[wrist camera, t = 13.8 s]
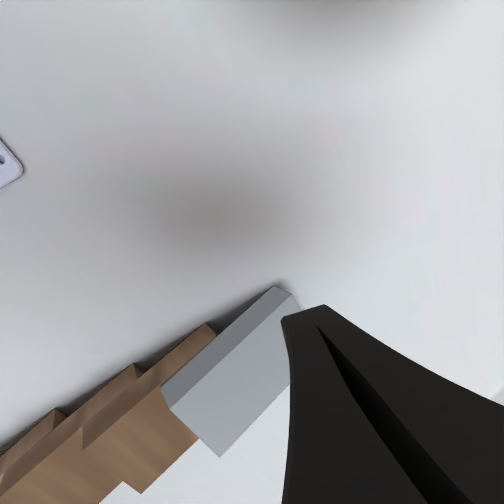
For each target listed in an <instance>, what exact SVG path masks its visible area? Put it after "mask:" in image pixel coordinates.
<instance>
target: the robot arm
mask: <svg viewBox="0 0 504 504" xmlns="http://www.w3.org/2000/svg"><path fill="white" fill-rule="evenodd" d="M0 154H1V155H2V156H3V157H4V158H5V163H4V164H2V163H0V188H2V187H3V186H5V185H7V184H8V183H10V182H12V181H13V180H15V179H17V178H18V177H20V176H21V175H22V172H23V168H22V165H21V164H20V162H19V161H18V160H17V159H16V158H15V156H14V155H13V154H12V153H11V152H10V151H9V149H8V148H7V147H6V146H5V145H4V144H3V142H2V141H1V140H0ZM280 322H281V327H282V331H283V336H284V340H285V344H286V349H287V353H288V358H289V369H290V420H289V437H288V450H287V461H286V470H285V479H284V488H283V496H282V504H504V406H503V405H500V404H498V403H496V402H494V401H491V400H489V399H487V398H485V397H482V396H480V395H478V394H476V393H474V392H472V391H470V390H468V389H466V388H464V387H462V386H459V385H457V384H455V383H453V382H451V381H449V380H447V379H445V378H443V377H441V376H439V375H438V374H436V373H434V372H432V371H430V370H428V369H426V368H425V367H423V366H421V365H419V364H417V363H416V362H414V361H412V360H410V359H408V358H407V357H405V356H403V355H402V354H400V353H398V352H397V351H395V350H393V349H392V348H390V347H388V346H387V345H385V344H384V343H382V342H380V341H379V340H377V339H376V338H374V337H372V336H371V335H369V334H368V333H366V332H365V331H363V330H362V329H360V328H359V327H357V326H356V325H354V324H353V323H351V322H350V321H348V320H347V319H346V318H344V317H343V316H341V315H340V314H338V313H337V312H336V311H334V310H333V309H331V308H330V307H328V306H327V305H325V304H323V305H320V306H317V307H313V308H310V309H307V310H303V311H300V312H297V313H293V314H290V315H287V316H283V318H282V319H281V320H280Z"/></svg>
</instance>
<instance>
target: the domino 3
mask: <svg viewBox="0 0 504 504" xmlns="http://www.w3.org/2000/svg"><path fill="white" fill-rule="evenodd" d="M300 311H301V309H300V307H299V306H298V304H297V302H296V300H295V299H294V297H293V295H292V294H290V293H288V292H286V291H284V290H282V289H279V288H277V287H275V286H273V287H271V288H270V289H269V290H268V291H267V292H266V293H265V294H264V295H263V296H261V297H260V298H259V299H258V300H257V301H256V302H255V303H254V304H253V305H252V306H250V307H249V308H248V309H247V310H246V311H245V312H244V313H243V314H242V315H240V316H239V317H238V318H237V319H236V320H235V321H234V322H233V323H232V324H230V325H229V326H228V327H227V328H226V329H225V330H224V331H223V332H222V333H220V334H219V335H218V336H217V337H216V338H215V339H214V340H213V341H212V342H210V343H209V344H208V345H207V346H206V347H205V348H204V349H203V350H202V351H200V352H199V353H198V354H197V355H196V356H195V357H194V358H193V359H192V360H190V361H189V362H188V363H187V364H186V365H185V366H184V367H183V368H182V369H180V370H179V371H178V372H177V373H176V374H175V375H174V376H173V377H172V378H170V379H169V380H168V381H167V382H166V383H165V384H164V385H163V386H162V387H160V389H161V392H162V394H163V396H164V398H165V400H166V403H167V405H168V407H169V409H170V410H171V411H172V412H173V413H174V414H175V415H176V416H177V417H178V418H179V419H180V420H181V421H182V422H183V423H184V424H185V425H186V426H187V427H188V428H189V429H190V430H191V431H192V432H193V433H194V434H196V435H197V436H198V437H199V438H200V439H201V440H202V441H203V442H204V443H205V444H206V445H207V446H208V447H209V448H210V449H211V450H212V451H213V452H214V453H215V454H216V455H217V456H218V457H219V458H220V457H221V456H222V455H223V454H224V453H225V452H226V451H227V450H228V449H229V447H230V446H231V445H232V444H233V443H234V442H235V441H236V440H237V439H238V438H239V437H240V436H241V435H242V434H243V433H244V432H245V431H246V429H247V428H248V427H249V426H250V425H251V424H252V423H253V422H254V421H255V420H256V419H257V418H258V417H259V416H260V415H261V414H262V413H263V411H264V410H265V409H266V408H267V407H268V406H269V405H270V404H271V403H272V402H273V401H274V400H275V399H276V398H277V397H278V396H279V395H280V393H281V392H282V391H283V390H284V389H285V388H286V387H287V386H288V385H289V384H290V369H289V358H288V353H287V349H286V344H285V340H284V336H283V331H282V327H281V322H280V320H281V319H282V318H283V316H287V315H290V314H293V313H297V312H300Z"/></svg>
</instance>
